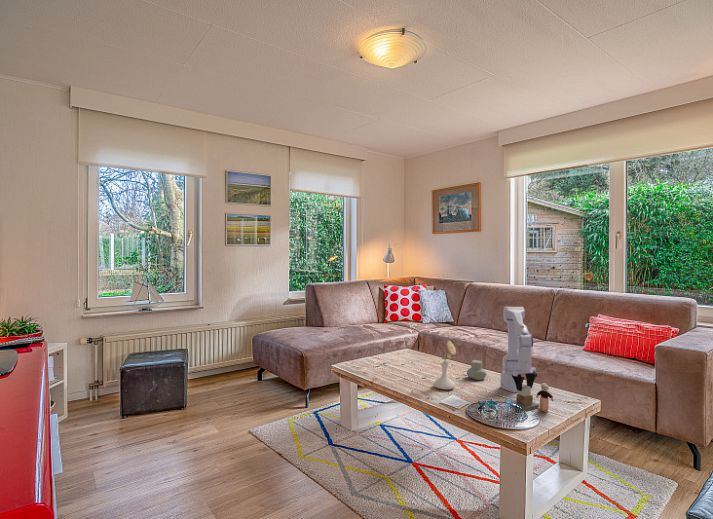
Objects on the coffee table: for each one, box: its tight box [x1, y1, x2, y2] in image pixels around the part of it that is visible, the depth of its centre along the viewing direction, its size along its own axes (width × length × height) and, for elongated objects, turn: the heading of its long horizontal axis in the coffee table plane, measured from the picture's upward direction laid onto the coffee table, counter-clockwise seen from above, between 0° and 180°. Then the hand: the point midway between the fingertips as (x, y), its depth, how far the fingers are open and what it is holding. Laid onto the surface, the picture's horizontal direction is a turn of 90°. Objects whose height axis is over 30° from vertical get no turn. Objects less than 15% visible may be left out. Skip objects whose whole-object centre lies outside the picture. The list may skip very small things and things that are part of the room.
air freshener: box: [466, 359, 487, 381], centre depth 231 cm, size 11×8×10 cm
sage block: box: [517, 384, 532, 397], centre depth 189 cm, size 4×4×4 cm
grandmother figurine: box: [535, 382, 555, 413], centre depth 183 cm, size 8×4×13 cm, turn 56°
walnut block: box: [515, 393, 534, 406], centre depth 189 cm, size 5×5×4 cm
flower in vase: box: [433, 340, 457, 390], centre depth 215 cm, size 13×11×25 cm
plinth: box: [510, 399, 540, 412], centre depth 189 cm, size 9×9×2 cm
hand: (524, 389), depth 189 cm, fingers open, 7 cm apart
